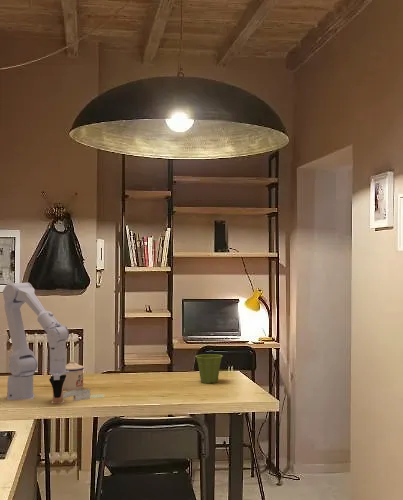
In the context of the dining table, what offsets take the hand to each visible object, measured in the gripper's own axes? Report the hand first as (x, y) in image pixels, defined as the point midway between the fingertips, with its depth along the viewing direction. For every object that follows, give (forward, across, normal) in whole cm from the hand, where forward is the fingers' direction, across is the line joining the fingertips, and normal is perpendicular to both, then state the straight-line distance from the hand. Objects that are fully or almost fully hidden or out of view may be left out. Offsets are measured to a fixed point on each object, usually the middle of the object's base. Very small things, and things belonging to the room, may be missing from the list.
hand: (57, 396), depth 237 cm
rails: (+2, +6, -6) cm, 8 cm away
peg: (+2, 0, 0) cm, 2 cm away
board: (+3, +5, -7) cm, 9 cm away
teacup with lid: (+3, +27, -4) cm, 27 cm away
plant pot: (+3, +31, -62) cm, 69 cm away
